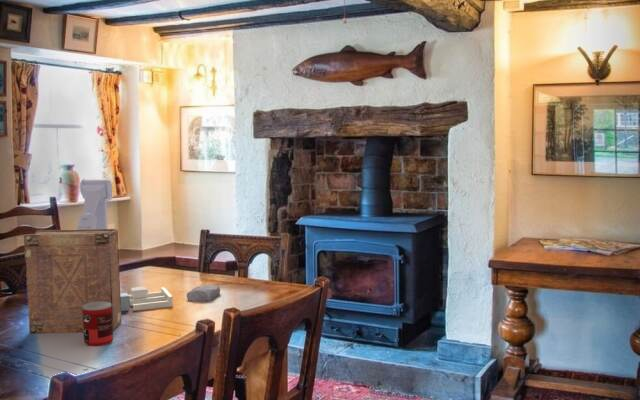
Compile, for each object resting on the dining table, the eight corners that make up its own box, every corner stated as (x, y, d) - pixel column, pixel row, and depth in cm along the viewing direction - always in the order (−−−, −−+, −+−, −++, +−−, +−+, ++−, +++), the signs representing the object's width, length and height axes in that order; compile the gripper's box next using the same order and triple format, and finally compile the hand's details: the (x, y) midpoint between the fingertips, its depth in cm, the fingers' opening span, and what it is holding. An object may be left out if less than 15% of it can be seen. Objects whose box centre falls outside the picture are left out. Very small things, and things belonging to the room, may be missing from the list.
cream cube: (131, 301, 236) (130, 287, 236) (145, 300, 238) (145, 286, 238) (133, 304, 232) (132, 290, 231) (148, 303, 233) (147, 289, 233)
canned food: (88, 338, 193) (86, 301, 192) (116, 337, 194) (114, 300, 193) (80, 347, 186) (78, 308, 184) (110, 345, 186) (108, 307, 185)
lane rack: (127, 300, 237) (127, 291, 237) (164, 296, 242) (164, 287, 242) (133, 310, 223) (133, 300, 223) (172, 306, 228) (172, 296, 228)
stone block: (185, 306, 236) (211, 301, 234) (182, 292, 236) (208, 288, 234) (197, 299, 248) (222, 294, 246) (195, 286, 248) (220, 281, 246)
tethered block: (83, 311, 223) (82, 295, 222) (127, 306, 229) (126, 291, 228) (84, 315, 218) (83, 299, 218) (129, 310, 224) (128, 294, 223)
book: (28, 333, 199) (22, 234, 196) (40, 324, 208) (35, 230, 205) (113, 331, 200) (108, 233, 197) (121, 322, 209) (117, 228, 206)
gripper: (62, 272, 213) (64, 314, 214) (109, 268, 219) (111, 308, 220) (61, 268, 220) (63, 308, 221) (107, 264, 225) (109, 303, 227)
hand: (87, 308), depth 221 cm, fingers open, 7 cm apart
